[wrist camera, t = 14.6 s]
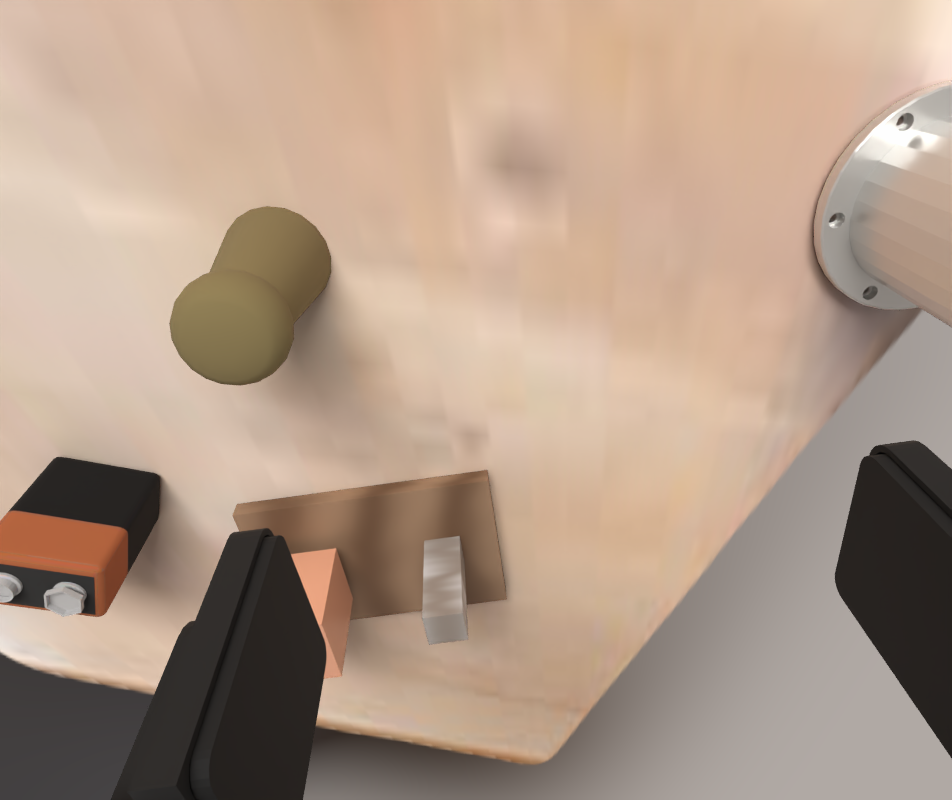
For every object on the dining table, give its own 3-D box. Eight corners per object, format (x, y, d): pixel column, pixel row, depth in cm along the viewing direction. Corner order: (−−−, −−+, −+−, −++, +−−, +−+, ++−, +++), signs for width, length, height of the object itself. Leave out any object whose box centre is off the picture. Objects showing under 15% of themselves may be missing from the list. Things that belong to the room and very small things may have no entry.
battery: (160, 518, 46) (97, 633, 37) (58, 501, 45) (-31, 617, 36) (162, 471, 44) (95, 582, 35) (55, 452, 43) (-41, 562, 34)
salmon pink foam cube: (336, 548, 45) (321, 624, 40) (353, 598, 48) (341, 676, 42) (263, 557, 45) (239, 635, 40) (284, 607, 48) (264, 686, 43)
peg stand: (487, 470, 45) (496, 554, 38) (505, 587, 51) (516, 678, 44) (237, 504, 46) (200, 593, 39) (285, 616, 52) (261, 711, 45)
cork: (322, 319, 39) (285, 418, 29) (218, 294, 37) (146, 390, 28) (339, 222, 36) (304, 298, 26) (227, 193, 35) (149, 262, 25)
